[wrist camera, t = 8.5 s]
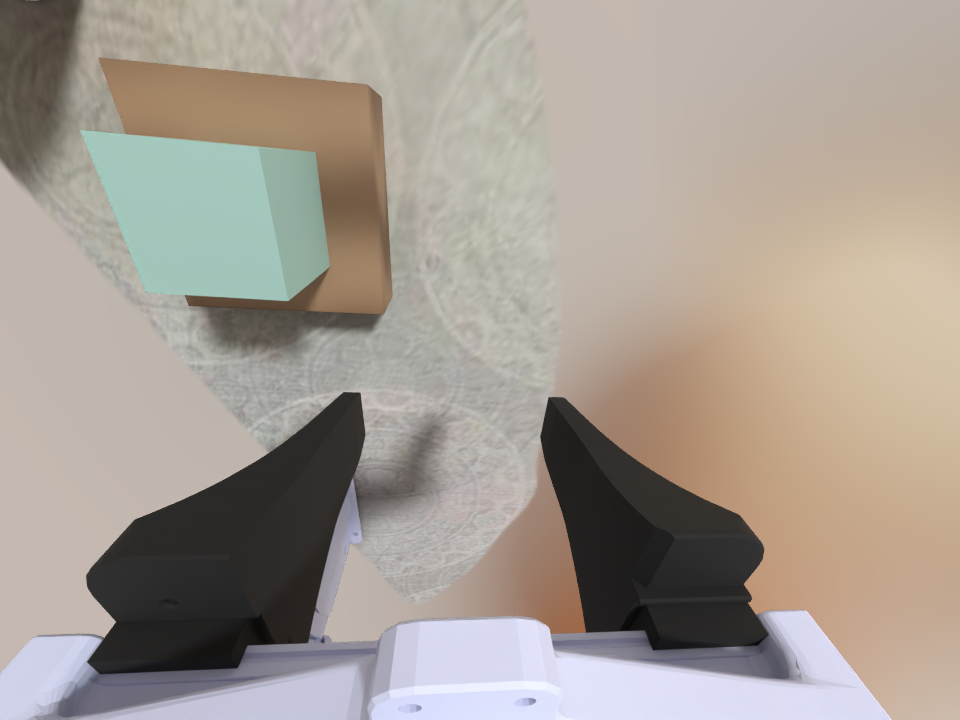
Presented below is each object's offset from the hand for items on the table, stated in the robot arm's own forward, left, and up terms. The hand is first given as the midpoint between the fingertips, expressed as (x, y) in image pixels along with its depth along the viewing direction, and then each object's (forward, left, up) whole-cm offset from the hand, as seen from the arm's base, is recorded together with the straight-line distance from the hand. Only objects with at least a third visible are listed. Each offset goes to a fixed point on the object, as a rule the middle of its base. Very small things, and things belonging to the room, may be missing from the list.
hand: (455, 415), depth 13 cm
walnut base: (+6, +9, -10) cm, 15 cm away
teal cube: (+6, +9, -7) cm, 13 cm away
